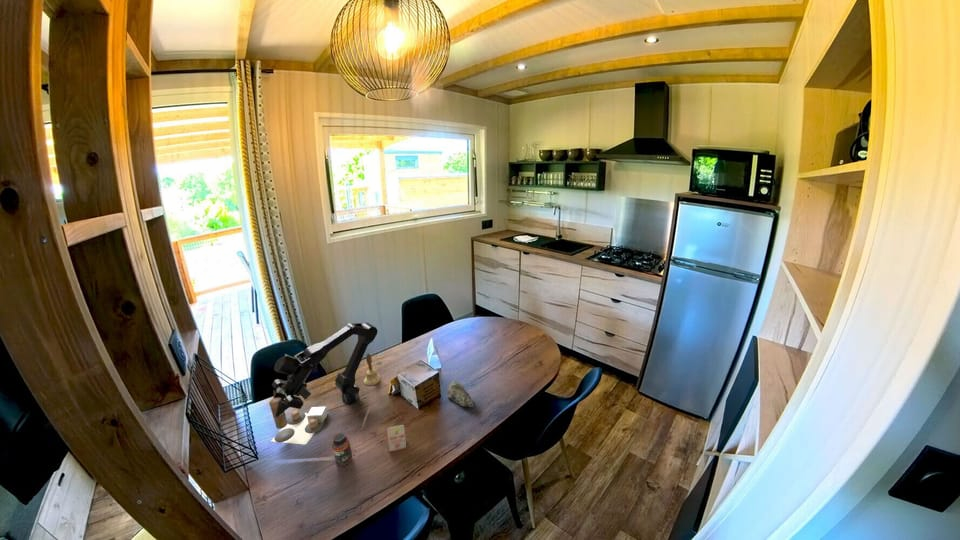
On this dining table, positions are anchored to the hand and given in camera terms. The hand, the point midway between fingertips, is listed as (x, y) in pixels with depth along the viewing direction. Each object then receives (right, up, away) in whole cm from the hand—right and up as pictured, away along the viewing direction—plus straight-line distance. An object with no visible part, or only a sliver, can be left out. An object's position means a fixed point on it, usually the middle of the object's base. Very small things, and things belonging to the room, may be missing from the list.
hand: (274, 413), depth 130 cm
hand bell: (+26, 0, +40) cm, 47 cm away
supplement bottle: (+29, -16, -5) cm, 33 cm away
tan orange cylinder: (+1, -6, +3) cm, 7 cm away
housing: (+10, -8, +14) cm, 19 cm away
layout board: (+5, -11, +9) cm, 15 cm away
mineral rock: (+72, -5, +24) cm, 76 cm away
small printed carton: (+48, -14, +1) cm, 50 cm away
